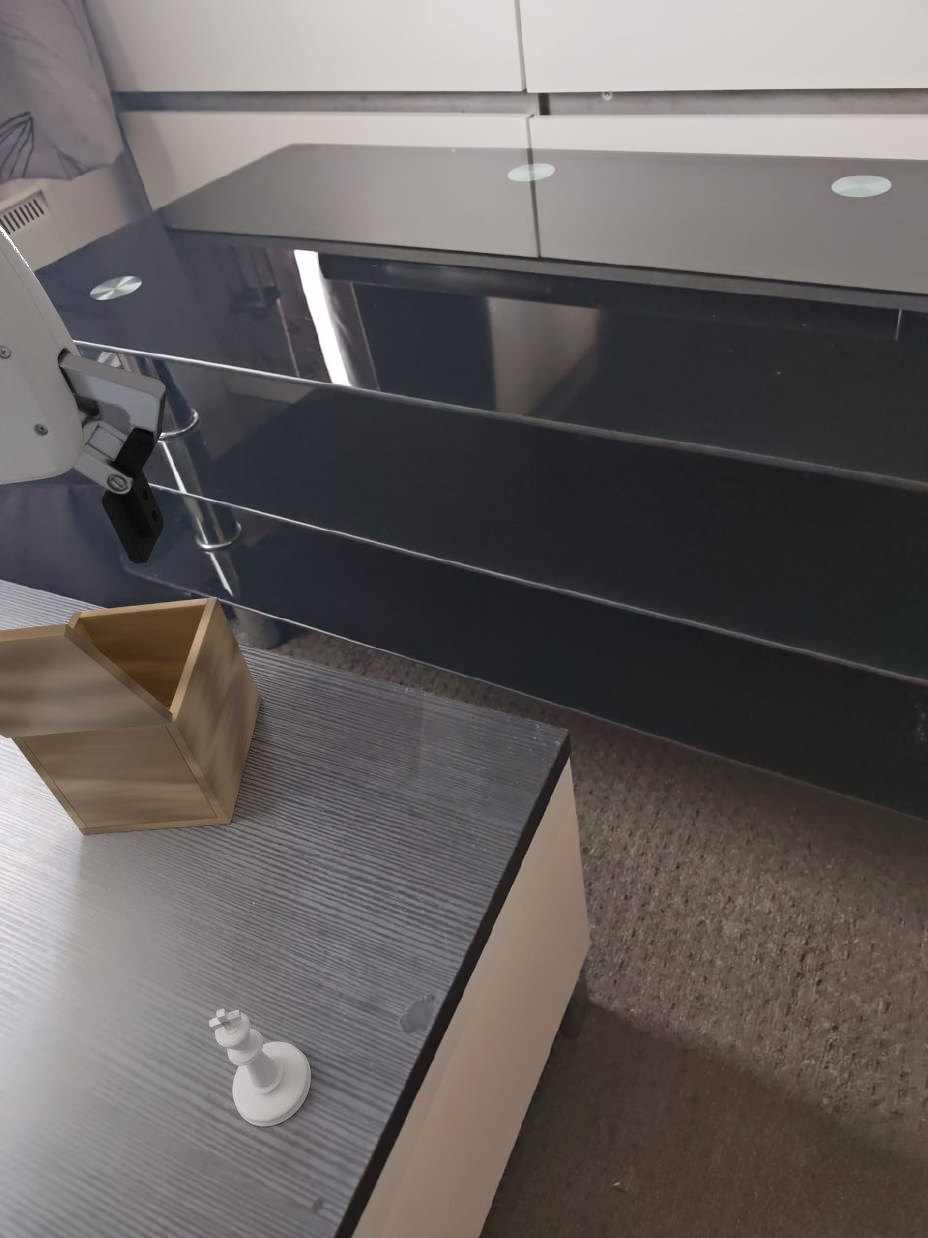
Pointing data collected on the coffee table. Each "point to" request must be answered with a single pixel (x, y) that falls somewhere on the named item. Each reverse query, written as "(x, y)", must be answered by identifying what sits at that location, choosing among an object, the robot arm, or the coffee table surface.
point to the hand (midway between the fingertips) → (58, 557)
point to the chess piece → (262, 1071)
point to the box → (158, 754)
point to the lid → (66, 686)
